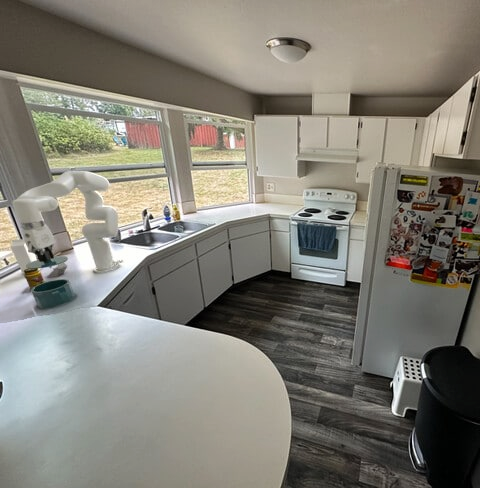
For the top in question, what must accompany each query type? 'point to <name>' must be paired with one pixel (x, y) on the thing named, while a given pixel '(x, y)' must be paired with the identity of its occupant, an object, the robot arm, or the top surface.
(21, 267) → the milk
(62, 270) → the paper boat
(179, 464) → the top surface
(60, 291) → the pot
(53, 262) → the lid
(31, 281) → the condiment
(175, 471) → the top surface
